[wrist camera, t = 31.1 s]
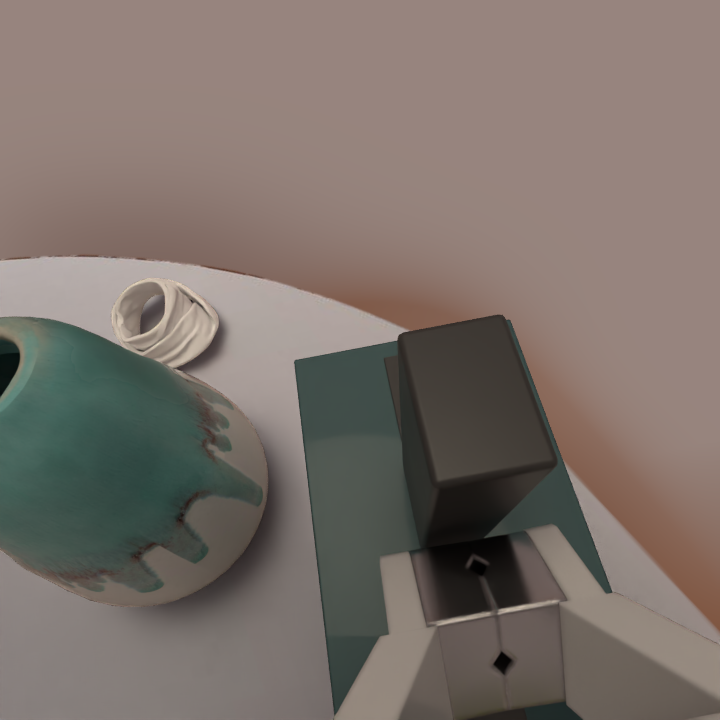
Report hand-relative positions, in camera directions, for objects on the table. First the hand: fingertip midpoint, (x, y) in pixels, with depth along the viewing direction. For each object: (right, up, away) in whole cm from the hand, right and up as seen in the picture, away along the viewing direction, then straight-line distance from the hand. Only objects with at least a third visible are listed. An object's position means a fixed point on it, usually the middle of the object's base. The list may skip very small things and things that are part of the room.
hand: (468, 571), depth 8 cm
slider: (0, 0, +3) cm, 3 cm away
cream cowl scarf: (-16, +5, +28) cm, 32 cm away
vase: (-12, -5, +22) cm, 25 cm away
